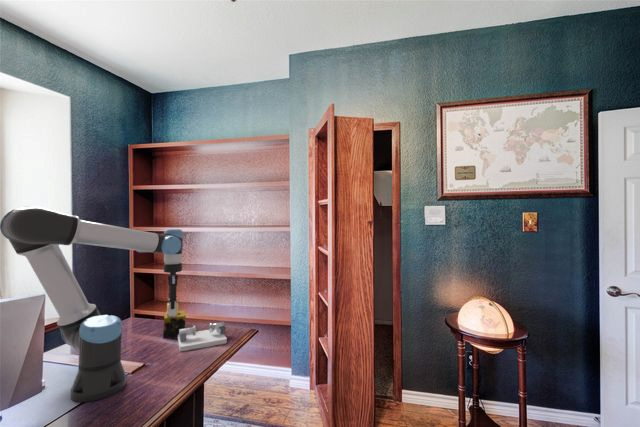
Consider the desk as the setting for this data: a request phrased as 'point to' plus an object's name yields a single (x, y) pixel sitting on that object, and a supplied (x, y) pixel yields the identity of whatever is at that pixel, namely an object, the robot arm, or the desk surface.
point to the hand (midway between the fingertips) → (171, 314)
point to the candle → (174, 324)
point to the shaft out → (217, 327)
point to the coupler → (168, 310)
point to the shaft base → (198, 338)
